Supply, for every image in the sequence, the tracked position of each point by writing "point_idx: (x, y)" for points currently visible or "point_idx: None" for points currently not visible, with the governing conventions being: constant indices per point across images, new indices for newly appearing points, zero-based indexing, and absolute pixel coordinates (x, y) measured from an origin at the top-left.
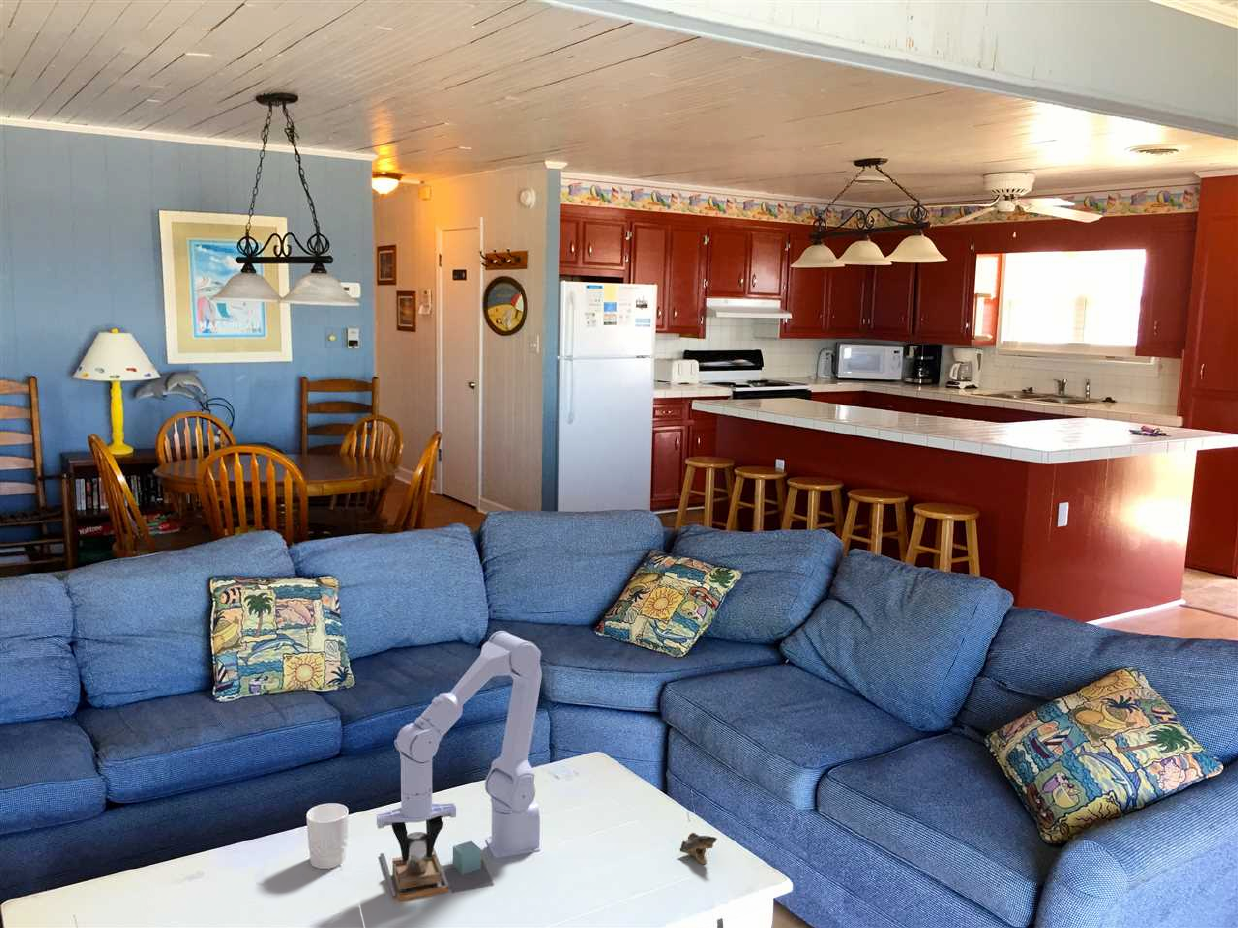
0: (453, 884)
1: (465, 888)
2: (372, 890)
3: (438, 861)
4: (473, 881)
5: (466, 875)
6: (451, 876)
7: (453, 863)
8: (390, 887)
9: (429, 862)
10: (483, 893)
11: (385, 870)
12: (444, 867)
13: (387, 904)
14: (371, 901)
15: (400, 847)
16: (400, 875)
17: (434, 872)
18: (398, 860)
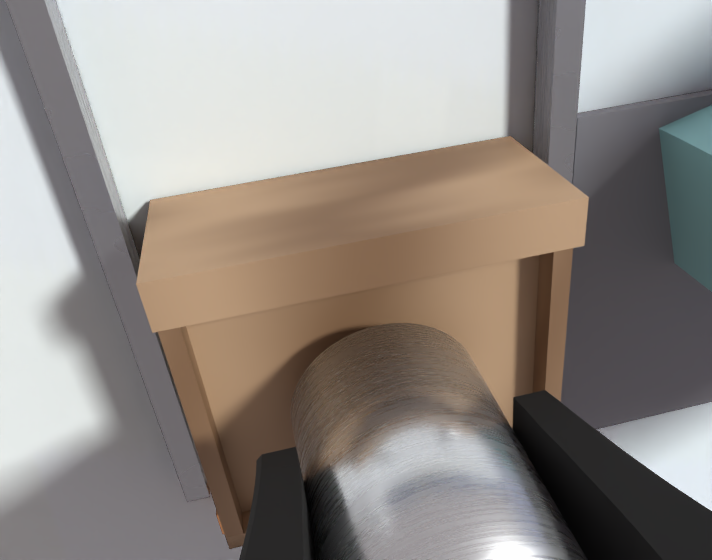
0: (583, 366)
1: (634, 404)
2: (12, 378)
3: (571, 87)
4: (704, 343)
5: None
6: (600, 276)
7: (673, 147)
8: (159, 416)
9: (497, 271)
10: (702, 429)
11: (71, 175)
12: (590, 150)
13: (158, 513)
14: (39, 488)
15: (247, 532)
16: (238, 440)
17: (505, 408)
18: (210, 319)
